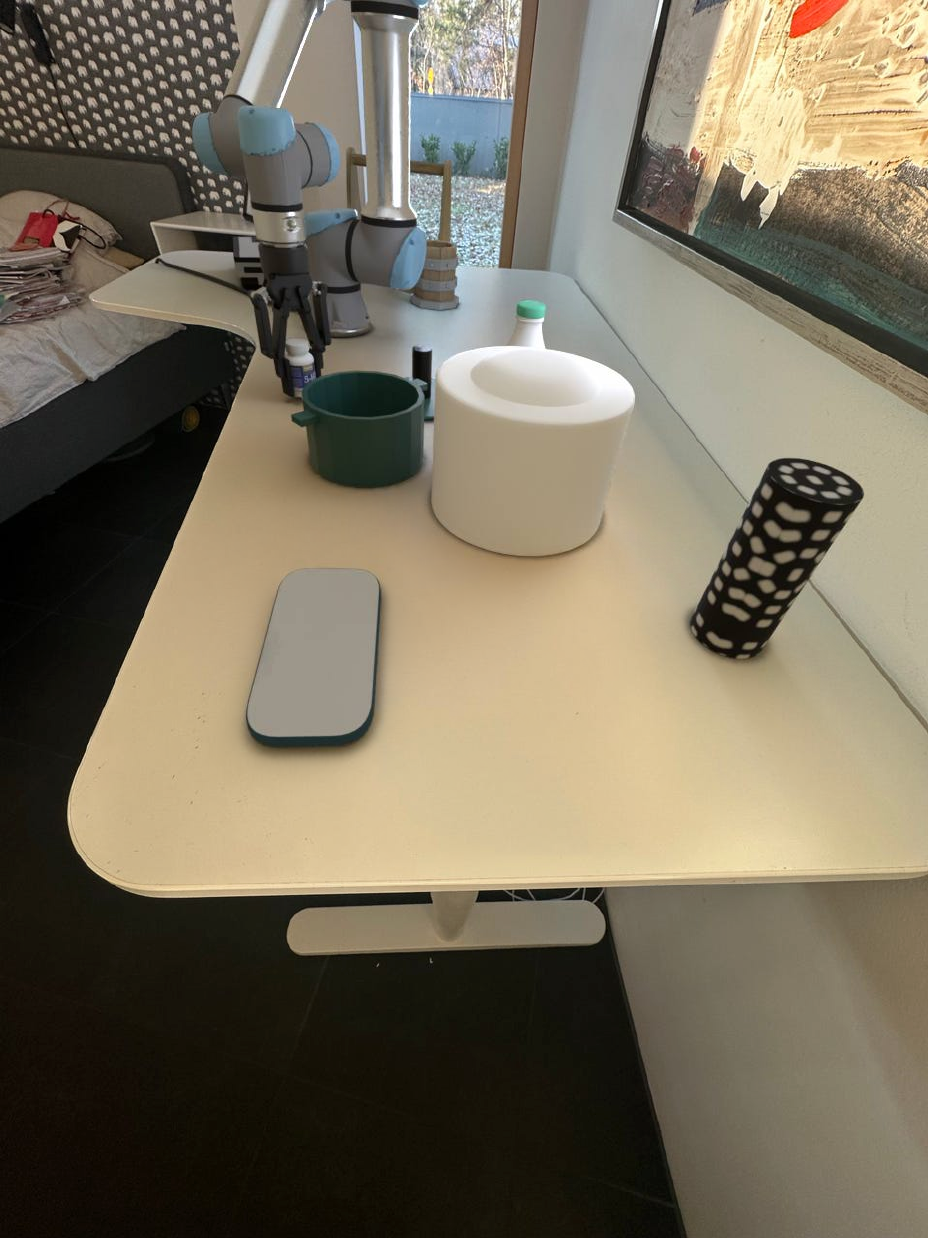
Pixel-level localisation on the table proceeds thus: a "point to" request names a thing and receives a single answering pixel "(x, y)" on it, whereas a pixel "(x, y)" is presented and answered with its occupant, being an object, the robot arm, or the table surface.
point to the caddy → (415, 167)
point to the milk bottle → (528, 325)
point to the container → (526, 447)
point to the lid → (424, 376)
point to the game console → (248, 262)
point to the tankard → (437, 278)
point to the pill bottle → (300, 363)
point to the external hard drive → (318, 660)
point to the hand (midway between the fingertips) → (303, 390)
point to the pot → (364, 427)
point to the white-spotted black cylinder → (773, 554)
